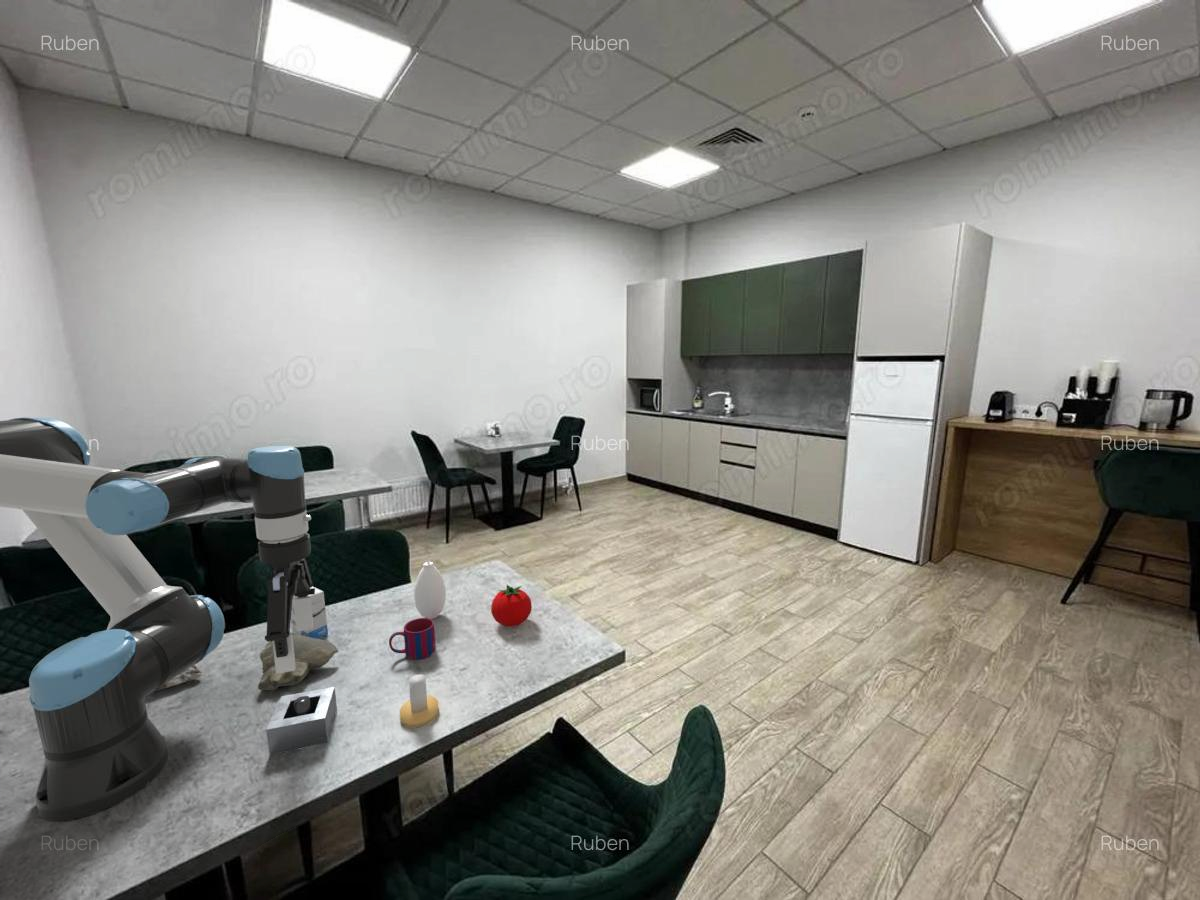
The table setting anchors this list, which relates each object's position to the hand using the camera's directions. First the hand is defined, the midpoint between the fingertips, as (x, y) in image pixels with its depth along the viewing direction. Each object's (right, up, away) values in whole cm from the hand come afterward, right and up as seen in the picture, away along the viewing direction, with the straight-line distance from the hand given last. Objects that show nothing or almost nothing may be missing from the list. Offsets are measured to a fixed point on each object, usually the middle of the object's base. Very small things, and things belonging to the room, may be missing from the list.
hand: (296, 648), depth 88 cm
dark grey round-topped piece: (0, -16, +3) cm, 17 cm away
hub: (+20, -16, +7) cm, 26 cm away
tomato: (+32, -10, +40) cm, 52 cm away
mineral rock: (-39, -14, +17) cm, 45 cm away
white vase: (+10, -9, +43) cm, 45 cm away
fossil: (-11, -14, +19) cm, 26 cm away
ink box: (-18, -11, +35) cm, 41 cm away
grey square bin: (0, -16, +3) cm, 17 cm away
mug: (+11, -12, +27) cm, 32 cm away
